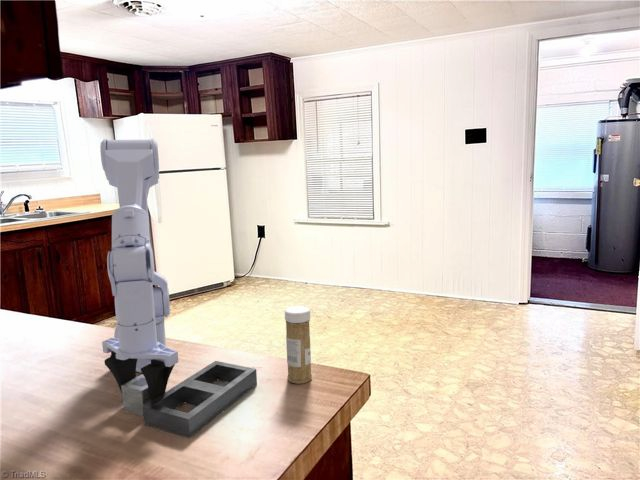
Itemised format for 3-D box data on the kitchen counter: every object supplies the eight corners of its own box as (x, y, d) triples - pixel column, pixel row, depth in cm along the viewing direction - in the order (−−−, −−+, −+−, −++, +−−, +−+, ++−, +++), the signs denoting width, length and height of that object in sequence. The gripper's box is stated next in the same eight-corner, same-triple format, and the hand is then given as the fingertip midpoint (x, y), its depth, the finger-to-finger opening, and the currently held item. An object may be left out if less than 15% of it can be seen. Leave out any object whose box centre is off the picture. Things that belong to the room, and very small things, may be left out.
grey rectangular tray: (144, 424, 74) (142, 406, 73) (216, 375, 90) (215, 360, 89) (190, 438, 70) (188, 419, 69) (257, 384, 86) (256, 369, 85)
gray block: (123, 411, 78) (121, 385, 77) (144, 398, 82) (142, 373, 81) (144, 417, 76) (141, 390, 75) (164, 403, 80) (162, 378, 79)
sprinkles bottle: (316, 380, 87) (314, 309, 85) (295, 387, 85) (292, 314, 82) (303, 371, 91) (301, 303, 89) (282, 377, 88) (280, 308, 86)
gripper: (83, 322, 76) (92, 401, 78) (152, 335, 70) (159, 420, 72) (118, 309, 82) (125, 382, 84) (184, 320, 76) (190, 399, 78)
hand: (143, 398), depth 79 cm, fingers open, 6 cm apart
